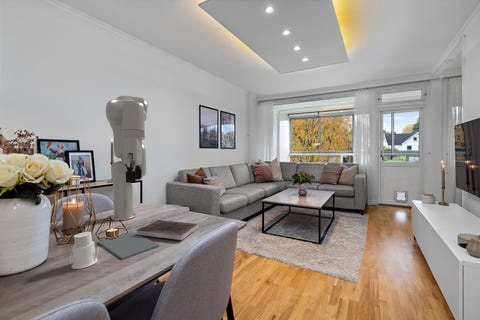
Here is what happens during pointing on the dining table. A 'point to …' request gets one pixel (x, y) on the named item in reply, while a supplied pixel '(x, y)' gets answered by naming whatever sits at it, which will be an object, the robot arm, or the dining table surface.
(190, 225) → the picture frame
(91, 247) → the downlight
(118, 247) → the mat
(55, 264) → the dining table surface
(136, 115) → the robot arm
